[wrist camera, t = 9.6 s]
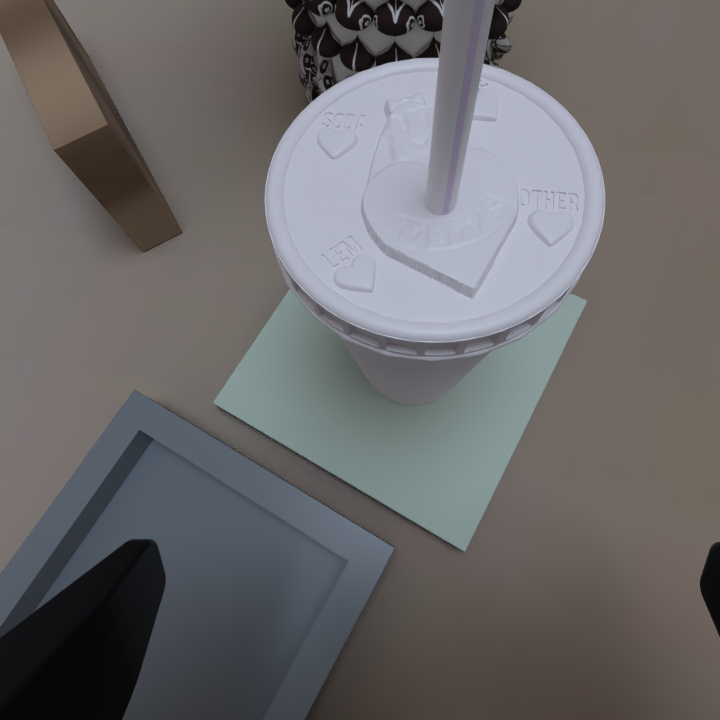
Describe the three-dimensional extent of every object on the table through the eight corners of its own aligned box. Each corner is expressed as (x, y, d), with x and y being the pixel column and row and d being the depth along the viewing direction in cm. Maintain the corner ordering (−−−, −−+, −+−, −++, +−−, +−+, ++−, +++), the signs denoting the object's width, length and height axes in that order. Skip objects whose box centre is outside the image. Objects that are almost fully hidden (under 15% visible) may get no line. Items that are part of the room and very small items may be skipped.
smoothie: (347, 464, 18) (208, 244, 4) (307, 299, 20) (131, -190, 6) (528, 417, 18) (931, 63, 4) (469, 258, 20) (625, -302, 7)
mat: (462, 551, 17) (464, 552, 16) (218, 406, 19) (212, 402, 19) (581, 307, 19) (586, 300, 19) (354, 204, 22) (352, 195, 21)
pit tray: (223, 871, 15) (199, 920, 13) (-25, 665, 17) (-78, 681, 15) (394, 546, 17) (394, 548, 15) (159, 404, 19) (134, 389, 17)
